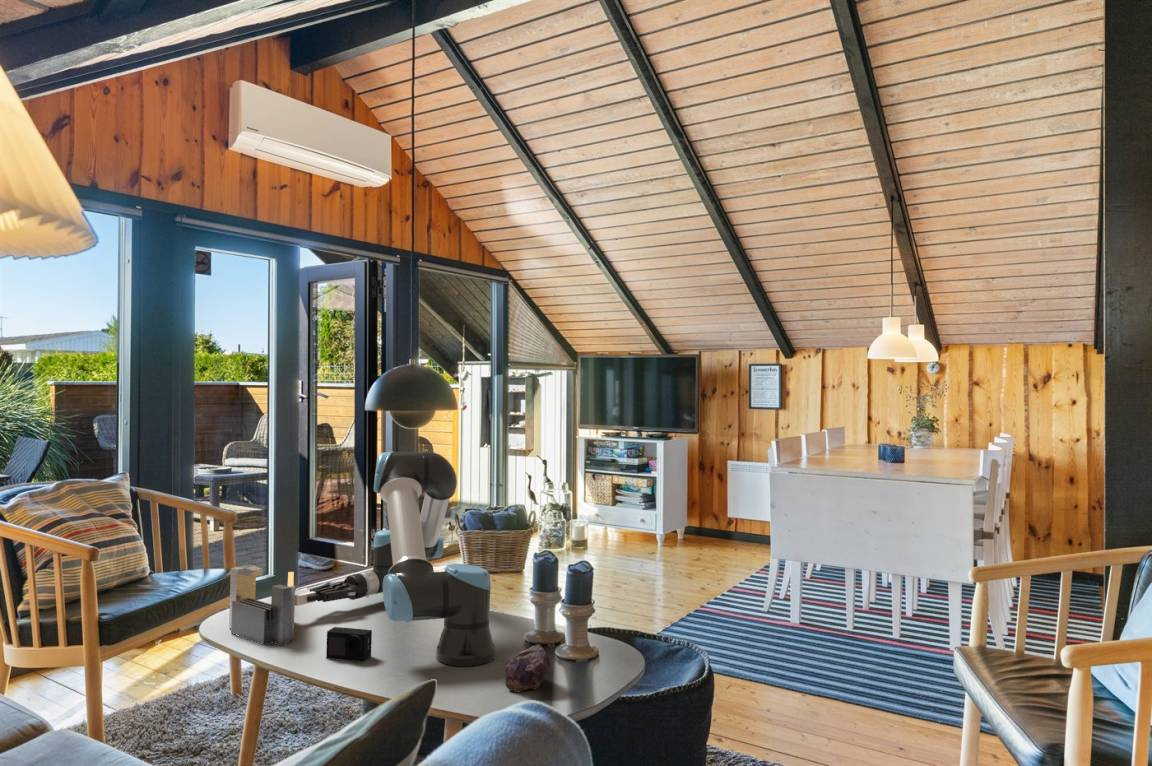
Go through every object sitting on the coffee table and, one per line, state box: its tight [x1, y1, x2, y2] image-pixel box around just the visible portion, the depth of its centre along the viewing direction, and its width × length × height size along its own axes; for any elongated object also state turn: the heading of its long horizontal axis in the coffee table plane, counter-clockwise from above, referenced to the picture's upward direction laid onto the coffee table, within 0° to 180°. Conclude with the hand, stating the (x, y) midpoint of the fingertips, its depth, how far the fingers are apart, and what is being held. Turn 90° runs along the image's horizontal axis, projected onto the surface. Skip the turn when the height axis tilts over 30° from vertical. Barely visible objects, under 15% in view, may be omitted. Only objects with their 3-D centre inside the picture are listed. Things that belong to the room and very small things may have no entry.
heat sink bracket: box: [228, 564, 291, 646], centre depth 218 cm, size 24×8×17 cm, turn 55°
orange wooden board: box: [287, 571, 296, 641], centre depth 222 cm, size 19×2×14 cm, turn 19°
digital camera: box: [325, 626, 373, 663], centre depth 201 cm, size 10×5×7 cm, turn 79°
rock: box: [504, 644, 551, 693], centre depth 185 cm, size 12×9×10 cm
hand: (295, 600), depth 228 cm, fingers closed
